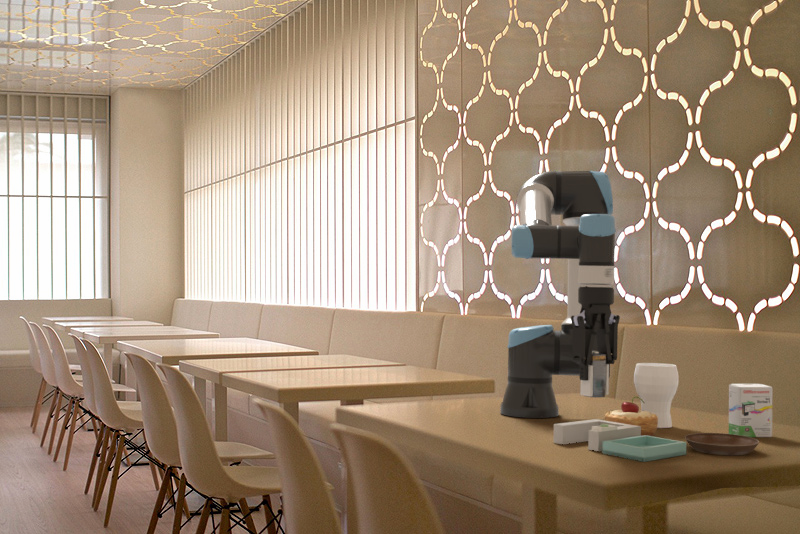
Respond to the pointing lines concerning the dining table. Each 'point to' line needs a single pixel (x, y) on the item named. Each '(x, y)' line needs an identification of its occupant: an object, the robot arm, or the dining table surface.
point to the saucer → (721, 443)
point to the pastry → (634, 417)
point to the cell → (598, 373)
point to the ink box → (750, 410)
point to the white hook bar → (593, 432)
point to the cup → (657, 389)
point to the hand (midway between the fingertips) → (594, 394)
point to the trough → (644, 448)
